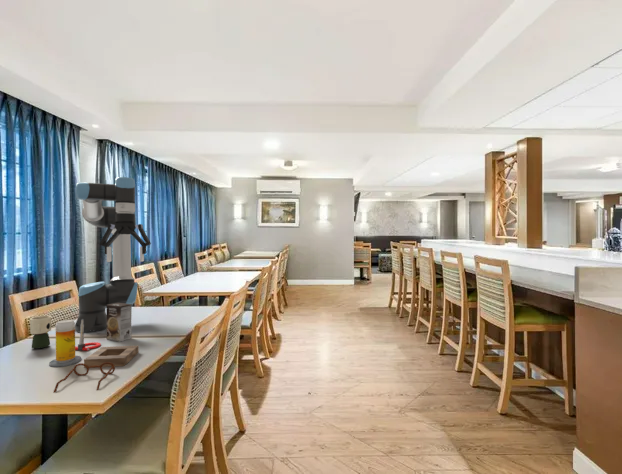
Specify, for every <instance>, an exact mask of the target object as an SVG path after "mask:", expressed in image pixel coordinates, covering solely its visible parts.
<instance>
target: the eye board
mask: <svg viewBox="0 0 622 474" xmlns="http://www.w3.org/2000/svg"><path fill="white" fill-rule="evenodd" d="M139 351H140V349H139V345H117V346H102V347H101V346H100V348H98V349H97V350H96V351H94V352H93V353H91V354H90V355H88V356H87V357H86V358H84V359H83V364H86V365H88V367H89V366H94V365H98V366H100V365H101V364H103V363H105V362H110V363H113V364H114V366H115V367H125V366H126V365H127V364H128V363H130V362H131V361H132V360H133V359H134V358H135V357H136V356H137V355H138V354H139ZM108 367H109V368H111V367H112V366H111V365H110V364H105V365H103V366H102V368H108ZM83 368H84V369H87V368H86V367H85V366H83Z"/></svg>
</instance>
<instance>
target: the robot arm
mask: <svg viewBox="0 0 622 474" xmlns="http://www.w3.org/2000/svg"><path fill="white" fill-rule="evenodd" d="M135 183H136V181H135V179H134V178H132V177H127V176H126V177H124V176H120V177H119V176H118V177H116V178H115V183H113V184H111V183H97V182H96V183H95V182H87V181H86V182H77V183H76V184H75V196H76V197H75V198H76V199H77V200H82V205H83V206H82V207H83V208H82V211H81V214H82V218H83V219H84V221H86V222H87V223H89V224H90V225H91V226H94V227H97V228H106V231H105V232H104V234H103V237H102V238H101V240H100V242H99V245H100V246H102V247H104V255H106V262H107V263H110V262H112V273H113V274H112V276H113V277H112V278H111V279H110V281H109V283H107V282H105V281H98V282H90V283H86V284H83V285H81V286H80V287H79V288H78V295H77V296H78V316H77V319H76V322H75V333H80V328H81V320H82V319H83V320H84V322H83V324H84V333H91V332H97V331H102V330H105V329H106V330H107V311H106V308H107V306H106V305H108V304H113V303H125V304H132V305H134V304H135V303H136V300H137V294H138V282H136V281H135V278H134V277H132V256H131V255H132V250H131V247H132V246H131V236H132V237H133V238H134V239H135V240H136V241H137V242H138V243H139V245H140V247H139V262H140V263H142V262H144V261H145V254H147V246H150V245H151V244H152V243H151V241H150V239H149V237H148V235H147V234H146V232H145V230H144V226H143V224H142V223H139V224H137V222H136V221H137V220H136V213H135V212H136V184H135ZM104 201H105V202H106V201H108V202H115V206H103V205H102V203H103V202H104ZM136 229H137V230H138V232H139V233H140V236H139V234H138V233H137V232H136ZM111 234H112V236H111ZM111 245H112V246H111Z"/></svg>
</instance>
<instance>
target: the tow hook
mask: <svg viewBox="0 0 622 474" xmlns="http://www.w3.org/2000/svg"><path fill="white" fill-rule="evenodd" d="M83 322H84V320H83V319H82V320H81V328H80V332H79V333H80V334H79V343H78V344H77V345H75V351H81V352H82V351H86V352H88V351H90V350H92V349H96V348H99V347H101V346H102V345H101V344H102V343H101V342H97V341H96V342H95V341H92V342H86V343H85V337H84V336H85V335H84V333H85V332H84V324H83Z"/></svg>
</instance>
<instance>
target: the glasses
mask: <svg viewBox="0 0 622 474" xmlns="http://www.w3.org/2000/svg"><path fill="white" fill-rule="evenodd" d="M105 364H110V365H111V367H109V369H108V371H107V372H105V371H104V370H103V367H102V366H103V365H105ZM79 366H82V367H84V366H85V367H86V368H85V369H86V372H85V373H78V372H77V367H79ZM91 368H98V369H99V370H100V372H101V374H103V375H104V376H103V377H101V378H100V379H99V380H98V383H97V386H96V389H95V390H96V391H98V390H99V389H100V386H101V383H102V381H104V380H105V379H106V378H107V377H108V376H109V375H112V374H113V373H114V372H115V371H116V366H114V364H113V363H110V362H105V363H103V364H101V365H100V366H98V365H94V366H89V367H88V365H86V364H84V362H82V363H79V362H78V363H76V364H75V365H74V366H73V368H72V369H71V370H70V371H69V372H68V373H67V374H66V376H64V378H61V379H60V380H58V382H56V384H55V386H54V389H53V394H54V393H56V392H58V391H57V390H58V388H59V385H60V384H61V383H62V382H65V381H66V380H67V379H68V378H69V377H70V376H71V374H73V373H74V374H75V375H76V376H78V377H80V376H81V377H82V376H83V377H84V376H86V375H88V373H90V369H91Z"/></svg>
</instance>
